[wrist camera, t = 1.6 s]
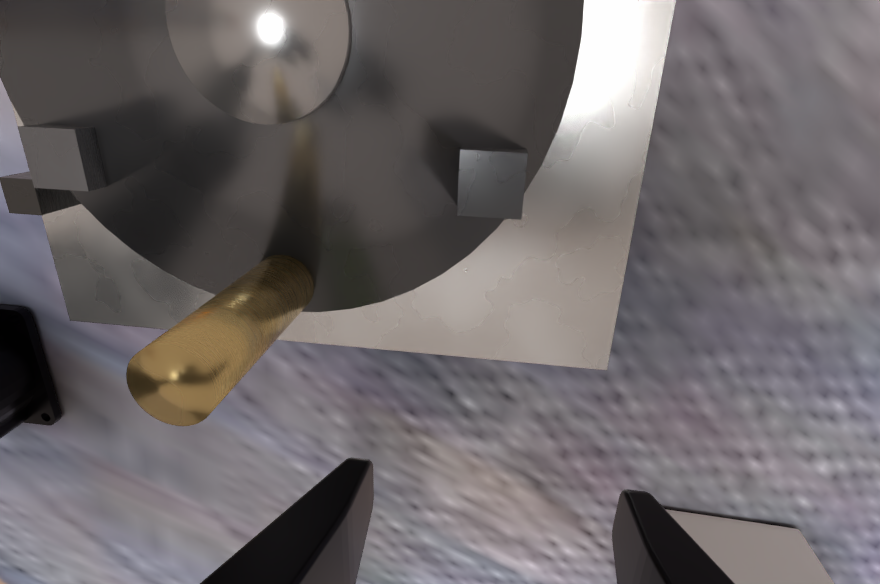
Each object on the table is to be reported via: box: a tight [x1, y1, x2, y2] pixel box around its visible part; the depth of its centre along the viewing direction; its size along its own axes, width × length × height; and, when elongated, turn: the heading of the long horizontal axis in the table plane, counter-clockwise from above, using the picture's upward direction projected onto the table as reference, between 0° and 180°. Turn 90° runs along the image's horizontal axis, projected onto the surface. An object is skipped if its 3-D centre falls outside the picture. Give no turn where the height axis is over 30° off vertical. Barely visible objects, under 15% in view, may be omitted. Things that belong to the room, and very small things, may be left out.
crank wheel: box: [0, 0, 584, 426], centre depth 12 cm, size 17×17×9 cm
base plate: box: [0, 0, 676, 370], centre depth 16 cm, size 23×23×4 cm
